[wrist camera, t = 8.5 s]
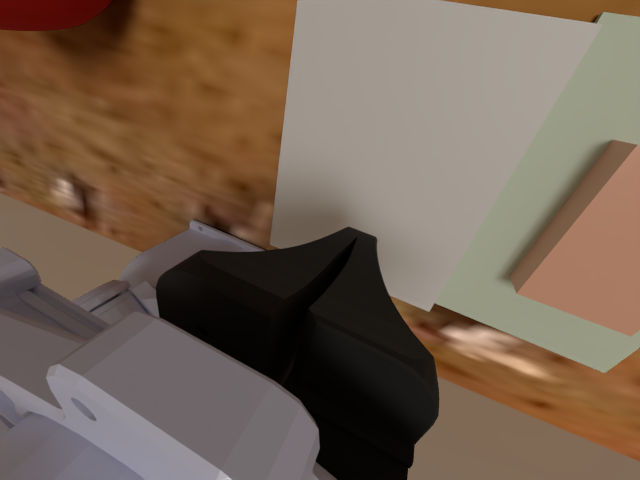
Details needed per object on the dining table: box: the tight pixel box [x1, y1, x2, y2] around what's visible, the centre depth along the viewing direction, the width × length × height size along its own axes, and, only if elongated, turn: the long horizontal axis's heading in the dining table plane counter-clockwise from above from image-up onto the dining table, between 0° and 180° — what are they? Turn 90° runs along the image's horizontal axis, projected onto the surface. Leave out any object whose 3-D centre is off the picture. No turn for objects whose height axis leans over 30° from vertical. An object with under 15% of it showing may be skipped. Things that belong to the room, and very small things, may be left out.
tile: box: [510, 140, 640, 336], centre depth 14 cm, size 6×9×2 cm, turn 168°
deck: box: [270, 0, 603, 312], centre depth 17 cm, size 13×16×3 cm
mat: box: [435, 12, 640, 373], centre depth 15 cm, size 12×18×1 cm, turn 167°
